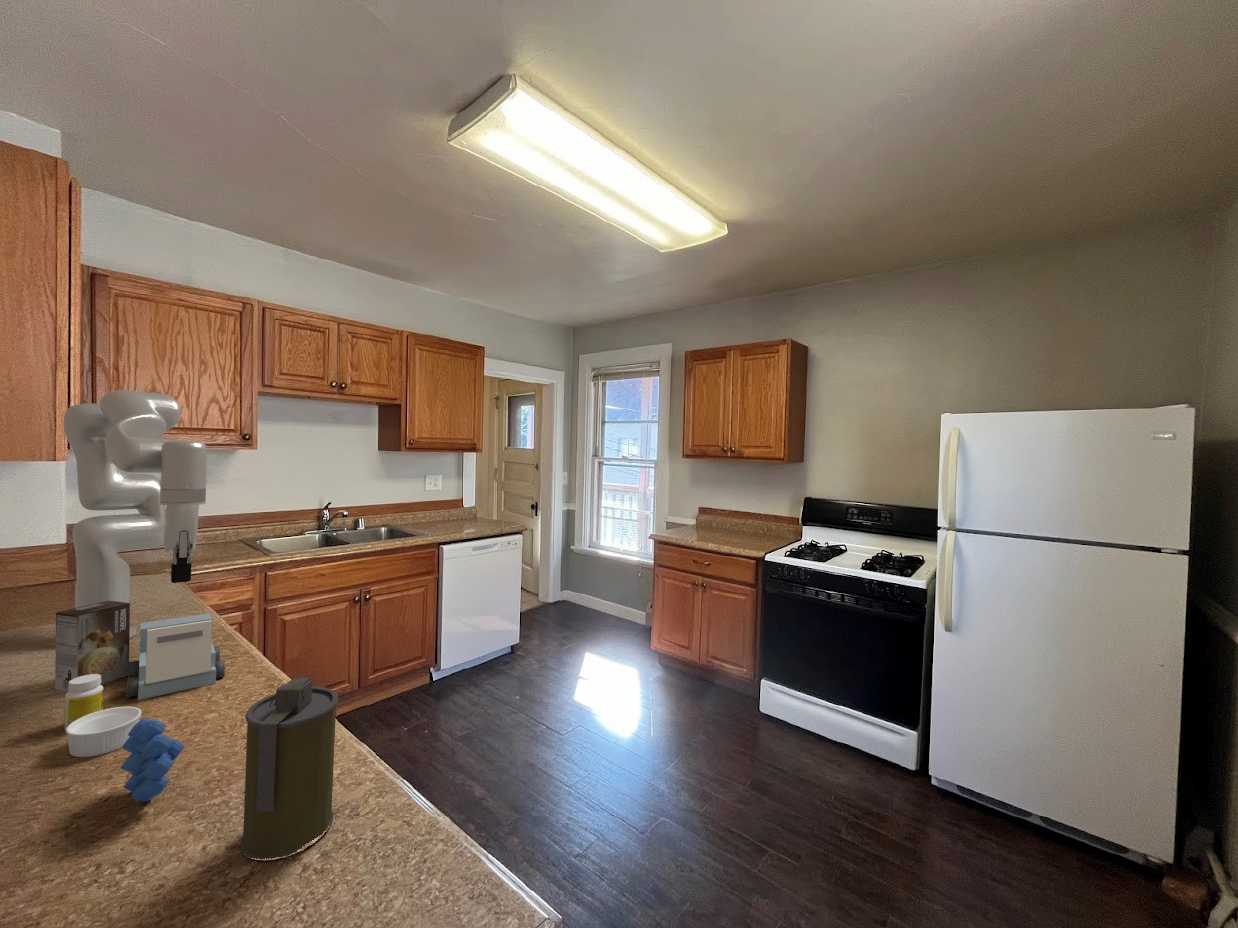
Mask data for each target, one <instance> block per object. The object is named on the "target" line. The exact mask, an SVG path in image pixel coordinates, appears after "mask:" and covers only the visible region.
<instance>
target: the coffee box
mask: <svg viewBox="0 0 1238 928" xmlns="http://www.w3.org/2000/svg"><path fill="white" fill-rule="evenodd" d="M130 619H131V603H130V602H129V603H126V602H118V601H104V602H100V603H95V604H91V605H86V606H82V607H78V608H76V607H74V608H69V609H65V610H61V611H56V612H55V661H54V662H55V663H54V664H55V667H54V675H55V676H54V689H55V690H56V691H57V690H58V691H61V692H66V693H67V692H69V690H68V685H69V681H70V680H72V679H74V678H77V677H80V676H84V675H90V674H99V675H101V684H100V685H102V686H103V685H104V684H108V683H110V682H113V681H116V680H118V679H120V678H125V677H127V676H128V672H129V662H130V638H129V636H130V627H131V625H130V624H131V623H130V621H131V620H130Z"/></svg>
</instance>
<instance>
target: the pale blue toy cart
mask: <svg viewBox="0 0 1238 928" xmlns="http://www.w3.org/2000/svg"><path fill="white" fill-rule="evenodd" d="M209 620H212V621H213V620H214V619H213V617H212V614H211V613H210V612H209V613H208V612H207V613H203V614H196V615H190V616H189V615H188V616H180V617H173V618H168V619H160V620H154V621H153V620H152V621H146V622H140V628H139V630H140V631H139V653H138V654H139V657H138V659H139V660H134V661H129V672H128V675H127V676H128V677H127V689H126V692H127V693H126V698H131V697H135V696H137V700H138V701H141V700H144V699H151V698H154V697H159V696H163V695H169V694H172V693H177V692H182V691H186V690H190V689H195V688H201V687H204V686H209V685H213V684H216V683H217V679H219V678H224V677H225V673H226V666H225V665H226V664H225V663H226V661H225V659H221V652H220V651H221V649H220V648H221V647H220V646H219V645H217V646H214V643H213V640H212V641H211V667H212V672H211V673H206V674H201V675H196V676H192V677H187V678H182V679H177V680H172V681H167V682H162V683H158V684H153V685H148V686H144V681H146V656H147V630H148V629H155V628H162V627H168V626H175V625H182V624H188V623H195V622H202V621H209ZM220 659H221V660H220Z"/></svg>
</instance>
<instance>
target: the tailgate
mask: <svg viewBox="0 0 1238 928" xmlns="http://www.w3.org/2000/svg"><path fill="white" fill-rule="evenodd" d="M211 641H212V642H213V620H209V621H202V622H195V623H188V624H182V625H175V626H168V627H162V628H155V629H148V630H147V656H146V681H144V686H148V685H153V684H158V683H162V682H167V681H172V680H177V679H182V678H187V677H192V676H196V675H201V674H206V673H211V672H212V667H211Z"/></svg>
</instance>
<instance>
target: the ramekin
mask: <svg viewBox="0 0 1238 928" xmlns="http://www.w3.org/2000/svg"><path fill="white" fill-rule="evenodd" d="M141 716H142V710H141V709H140V708H139V707H137V706H136V707H135V706H118V707H117V706H116V707H111V708H106V709H103V710H101V711H98V712H94V713H91V714H88V715H86V716H83V717H81V718H79V719H77V720H75V721H74V722H72V723H71V724H70V725H69V726H68V727H67V728H66V730H65V734H66V735H67V741H68V742H67V743H68V751H69V754H70V755H71V756H73V757H75V758H91V757H97V756H101V755H105V754H109V753H111V752H114V751H115V752H116V751H117V750H118V749H122V746H123V745H124V743H125V742H126V741H127V739H128V738H129V737H130V736H128V734H129V732H130V731H131V729H132V728H133V727H134V725H136V724H137V723H138V722H139V721H140V718H141Z"/></svg>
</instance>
